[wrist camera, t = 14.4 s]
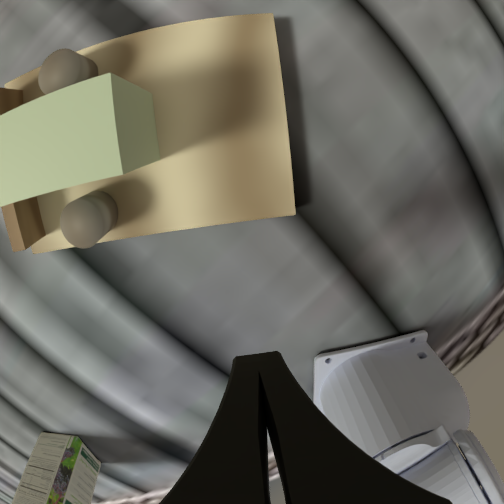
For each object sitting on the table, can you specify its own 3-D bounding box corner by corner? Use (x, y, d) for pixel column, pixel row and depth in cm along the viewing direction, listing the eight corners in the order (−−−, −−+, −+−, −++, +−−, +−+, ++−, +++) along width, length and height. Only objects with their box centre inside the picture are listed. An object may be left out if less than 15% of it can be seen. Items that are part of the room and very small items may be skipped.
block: (152, 93, 14) (110, 72, 8) (160, 159, 15) (123, 174, 9) (26, 131, 13) (-44, 140, 8) (35, 189, 15) (-31, 217, 9)
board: (269, 20, 14) (280, -5, 10) (291, 209, 18) (306, 227, 14) (15, 85, 13) (-19, 81, 10) (42, 247, 17) (13, 269, 14)
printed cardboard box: (103, 463, 26) (81, 568, 13) (64, 458, 26) (37, 552, 13) (78, 434, 24) (43, 550, 11) (39, 429, 24) (0, 530, 10)
